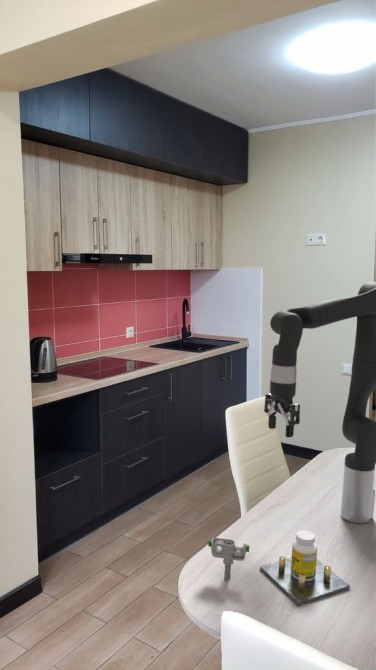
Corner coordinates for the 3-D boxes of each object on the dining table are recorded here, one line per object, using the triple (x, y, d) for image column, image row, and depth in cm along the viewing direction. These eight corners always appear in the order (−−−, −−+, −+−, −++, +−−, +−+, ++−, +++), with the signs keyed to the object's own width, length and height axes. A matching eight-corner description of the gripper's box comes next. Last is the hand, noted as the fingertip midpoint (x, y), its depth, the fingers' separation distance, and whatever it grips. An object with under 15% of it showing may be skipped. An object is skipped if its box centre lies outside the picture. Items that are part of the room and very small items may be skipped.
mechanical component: (246, 585, 130) (248, 548, 129) (206, 579, 132) (207, 542, 131) (247, 578, 133) (249, 542, 132) (208, 572, 135) (209, 536, 134)
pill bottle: (287, 568, 137) (290, 528, 135) (310, 567, 137) (313, 528, 136) (294, 582, 130) (297, 541, 129) (318, 582, 131) (321, 541, 130)
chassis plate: (308, 556, 144) (309, 541, 144) (349, 589, 130) (351, 572, 130) (259, 569, 137) (260, 553, 137) (298, 606, 123) (299, 588, 123)
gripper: (309, 383, 149) (305, 438, 151) (279, 373, 161) (276, 424, 164) (287, 386, 146) (284, 441, 148) (259, 375, 158) (256, 427, 160)
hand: (280, 432), depth 156 cm, fingers open, 8 cm apart
